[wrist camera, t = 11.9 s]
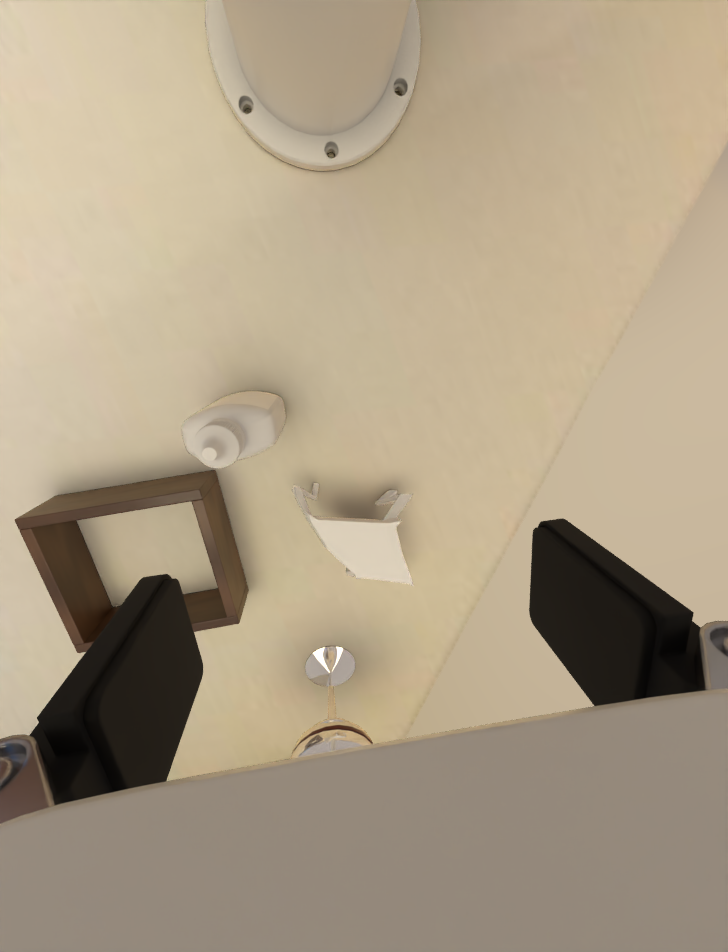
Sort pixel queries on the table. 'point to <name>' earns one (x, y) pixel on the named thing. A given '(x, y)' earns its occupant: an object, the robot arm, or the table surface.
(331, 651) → the wineglass
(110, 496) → the square wooden box frame
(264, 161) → the table surface
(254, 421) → the eye dropper bottle
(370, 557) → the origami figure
